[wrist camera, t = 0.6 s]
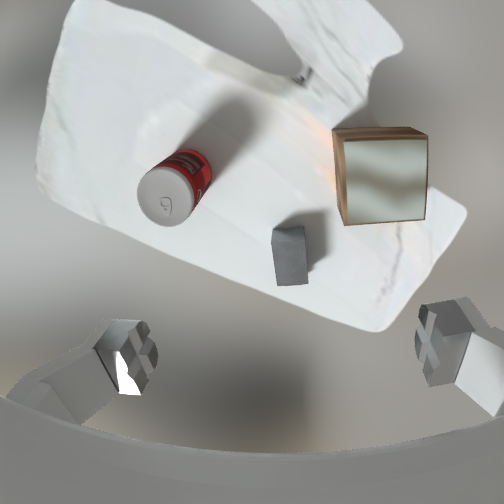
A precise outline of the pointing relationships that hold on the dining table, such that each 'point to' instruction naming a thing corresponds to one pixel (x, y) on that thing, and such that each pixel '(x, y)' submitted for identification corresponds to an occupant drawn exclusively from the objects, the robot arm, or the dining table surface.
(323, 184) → the dining table surface
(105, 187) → the dining table surface
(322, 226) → the dining table surface
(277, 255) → the block
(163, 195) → the canned food
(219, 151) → the dining table surface
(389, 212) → the stand
